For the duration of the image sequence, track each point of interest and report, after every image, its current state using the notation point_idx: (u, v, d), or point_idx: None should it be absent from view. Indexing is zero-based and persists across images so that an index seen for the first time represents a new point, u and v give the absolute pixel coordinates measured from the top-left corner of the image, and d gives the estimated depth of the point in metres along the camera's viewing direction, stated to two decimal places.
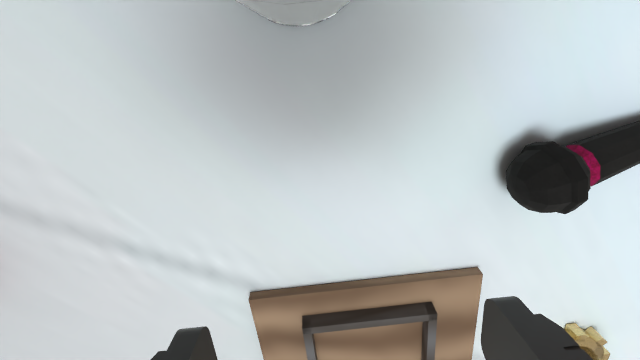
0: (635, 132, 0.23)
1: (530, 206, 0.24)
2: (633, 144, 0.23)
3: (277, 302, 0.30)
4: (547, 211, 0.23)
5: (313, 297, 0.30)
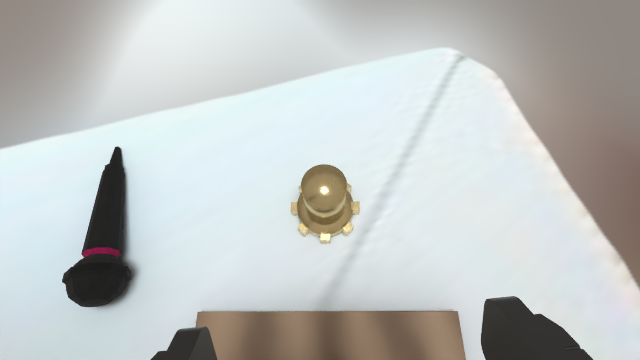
0: None
1: (100, 296, 0.30)
2: (90, 225, 0.34)
3: None
4: (104, 284, 0.31)
5: None
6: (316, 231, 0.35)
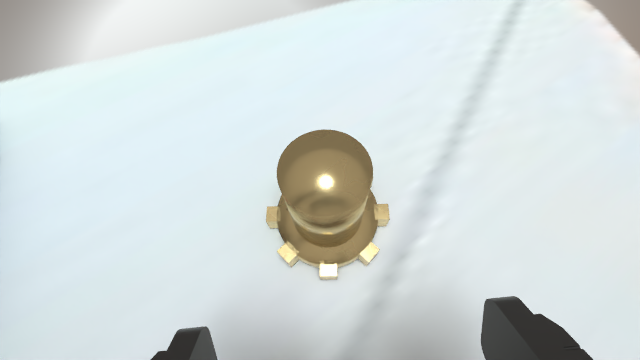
0: None
1: None
2: None
3: None
4: None
5: None
6: (311, 259, 0.19)
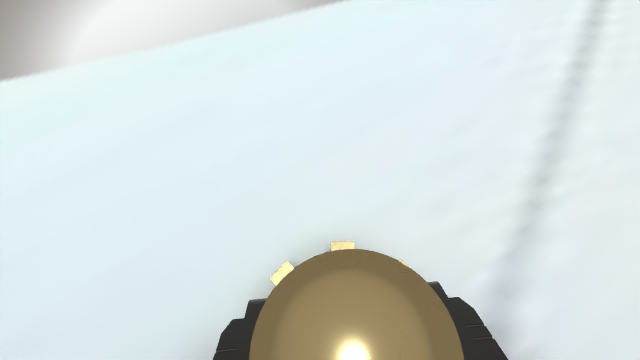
0: None
1: None
2: None
3: None
4: None
5: None
6: None
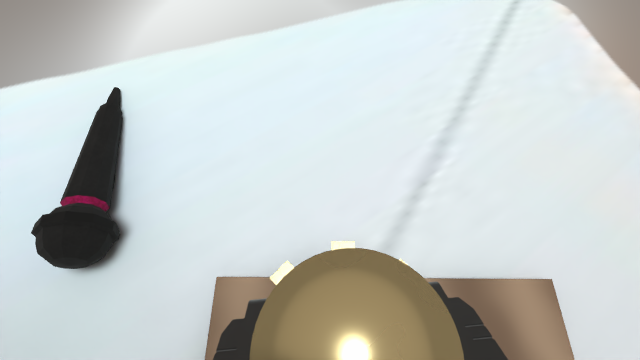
0: None
1: (76, 254, 0.24)
2: (74, 170, 0.28)
3: None
4: (82, 239, 0.24)
5: None
6: None
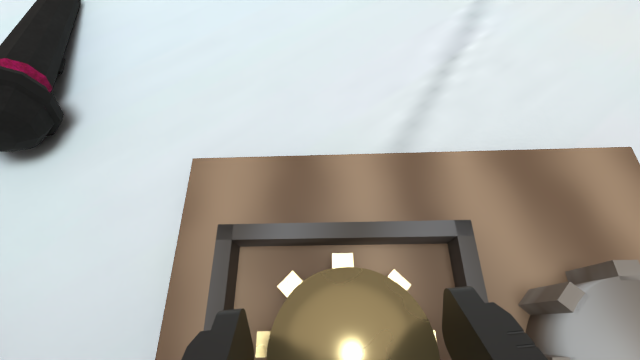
0: None
1: None
2: None
3: None
4: (2, 102, 0.18)
5: None
6: None
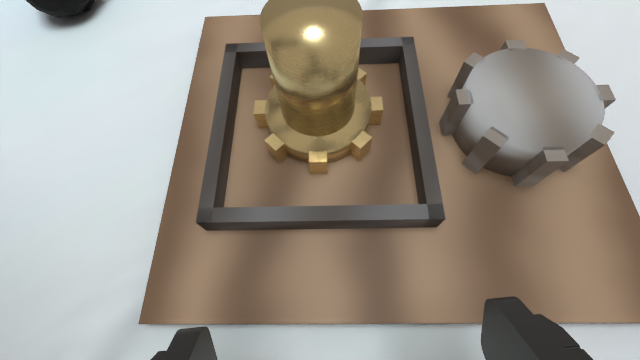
0: None
1: None
2: None
3: (163, 269, 0.17)
4: None
5: (173, 208, 0.18)
6: (300, 147, 0.18)
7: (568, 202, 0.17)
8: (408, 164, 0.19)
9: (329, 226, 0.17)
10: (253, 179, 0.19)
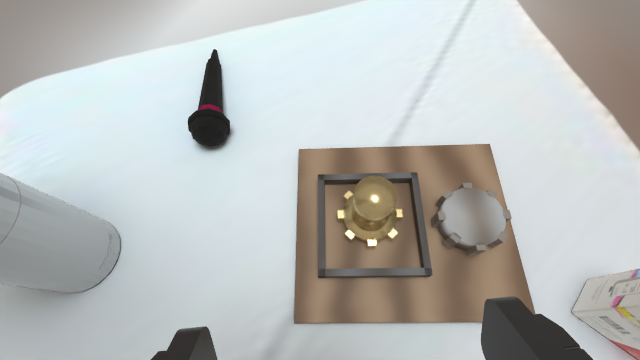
0: None
1: (214, 133, 0.43)
2: (202, 92, 0.47)
3: (301, 297, 0.36)
4: (217, 125, 0.43)
5: (300, 266, 0.37)
6: (363, 237, 0.37)
7: (491, 264, 0.36)
8: (415, 243, 0.38)
9: (378, 276, 0.36)
10: (338, 251, 0.38)
